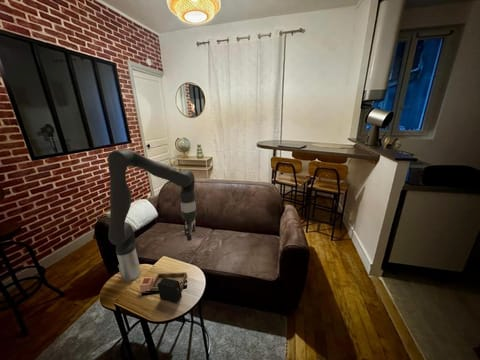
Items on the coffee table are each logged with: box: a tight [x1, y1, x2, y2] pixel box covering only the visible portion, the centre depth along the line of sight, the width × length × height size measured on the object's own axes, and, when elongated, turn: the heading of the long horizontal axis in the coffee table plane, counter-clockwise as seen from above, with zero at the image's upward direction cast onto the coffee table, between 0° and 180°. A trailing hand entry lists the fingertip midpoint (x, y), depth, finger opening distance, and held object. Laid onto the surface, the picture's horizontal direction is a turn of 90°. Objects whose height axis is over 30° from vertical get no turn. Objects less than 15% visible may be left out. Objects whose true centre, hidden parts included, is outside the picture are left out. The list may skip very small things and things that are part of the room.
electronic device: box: [157, 278, 182, 304], centre depth 96 cm, size 4×10×10 cm, turn 73°
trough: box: [150, 271, 188, 292], centre depth 106 cm, size 16×10×3 cm, turn 90°
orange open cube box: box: [139, 276, 155, 293], centre depth 103 cm, size 5×5×5 cm
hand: (191, 235), depth 105 cm, fingers open, 8 cm apart
